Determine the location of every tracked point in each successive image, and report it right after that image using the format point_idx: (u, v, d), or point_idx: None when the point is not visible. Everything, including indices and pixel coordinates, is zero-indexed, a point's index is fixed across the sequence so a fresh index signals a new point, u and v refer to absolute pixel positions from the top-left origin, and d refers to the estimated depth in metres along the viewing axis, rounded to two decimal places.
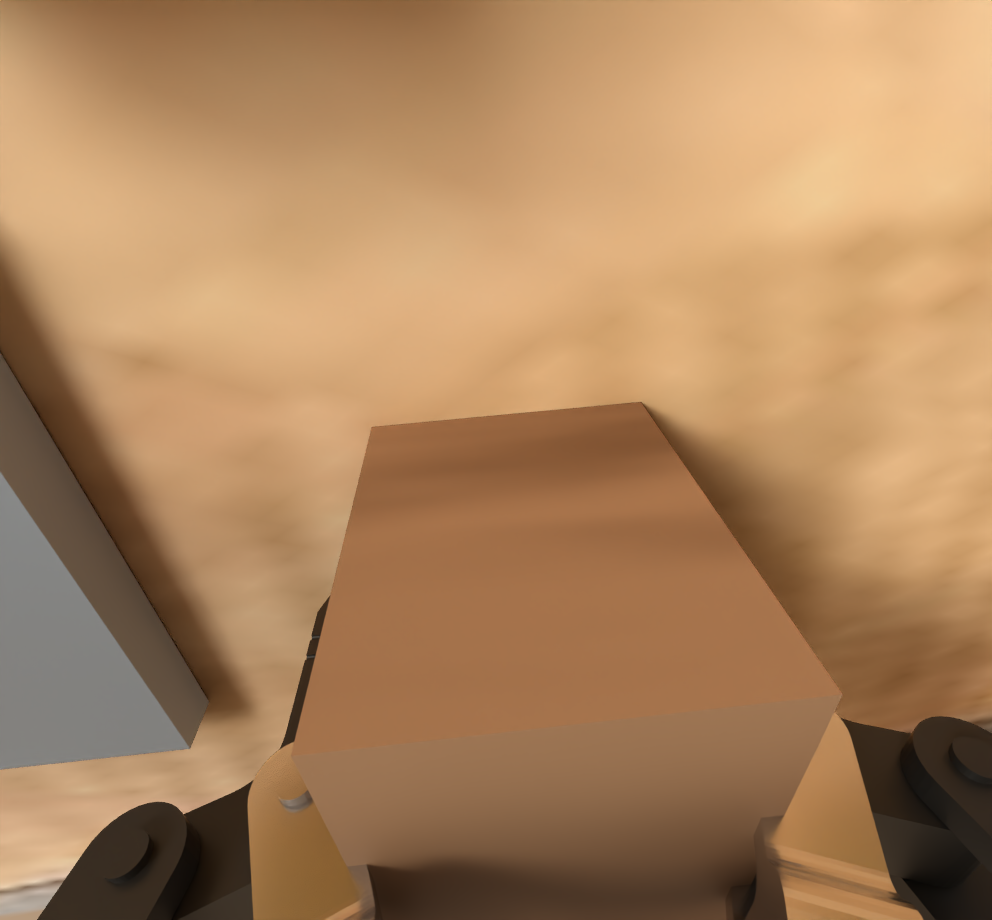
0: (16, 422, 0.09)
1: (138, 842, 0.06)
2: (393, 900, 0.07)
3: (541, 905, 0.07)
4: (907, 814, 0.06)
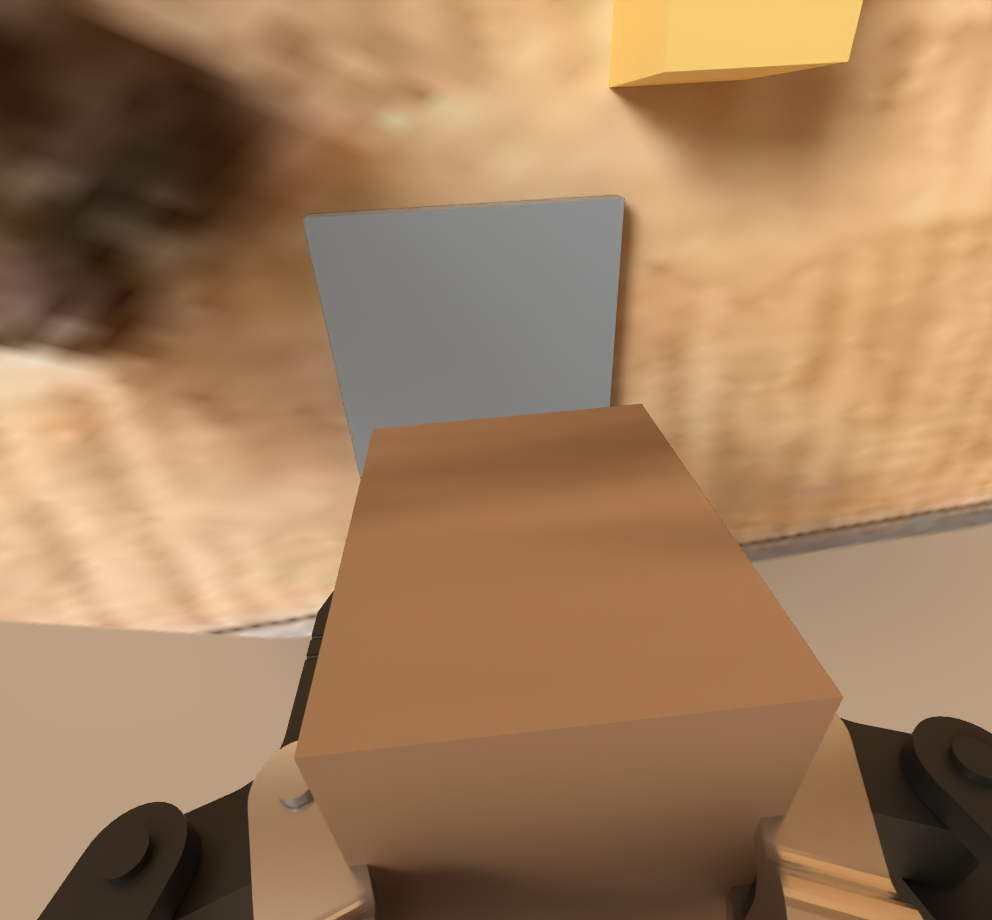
0: None
1: (138, 842, 0.06)
2: (395, 901, 0.07)
3: (543, 906, 0.07)
4: (907, 814, 0.06)
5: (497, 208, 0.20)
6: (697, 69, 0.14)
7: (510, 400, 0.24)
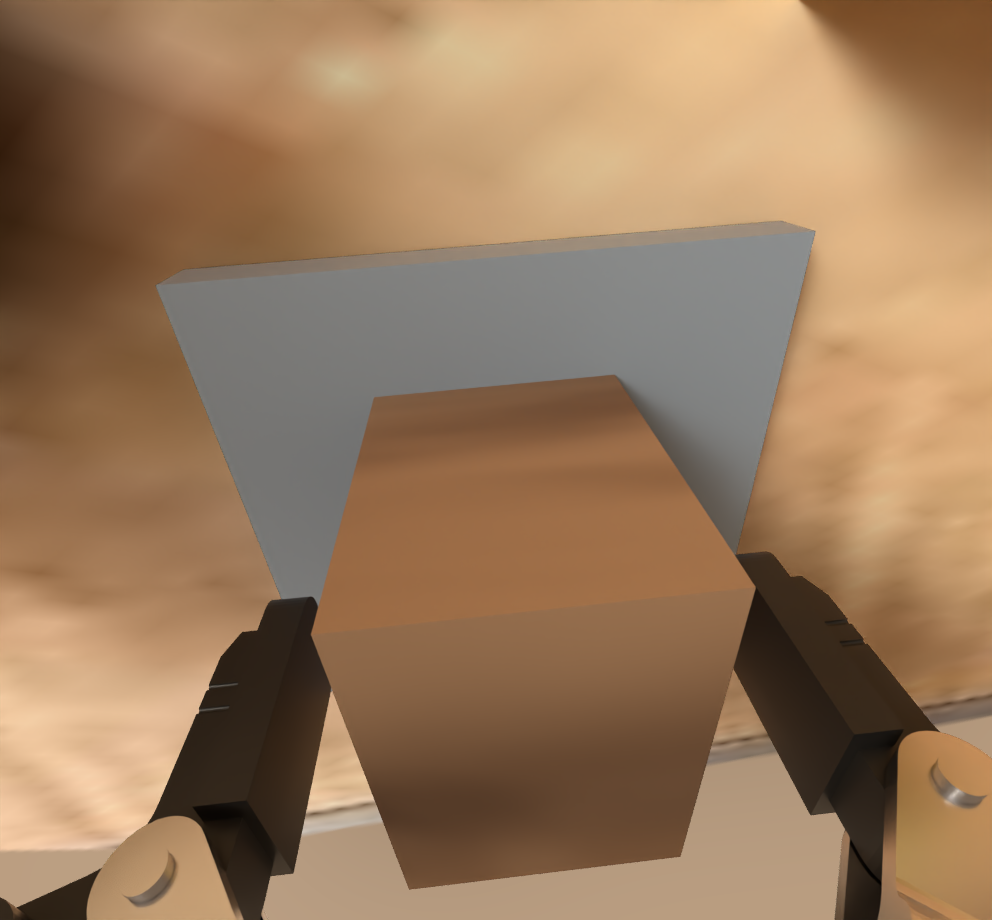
0: None
1: None
2: (393, 786, 0.08)
3: (520, 797, 0.08)
4: None
5: (558, 256, 0.10)
6: None
7: None
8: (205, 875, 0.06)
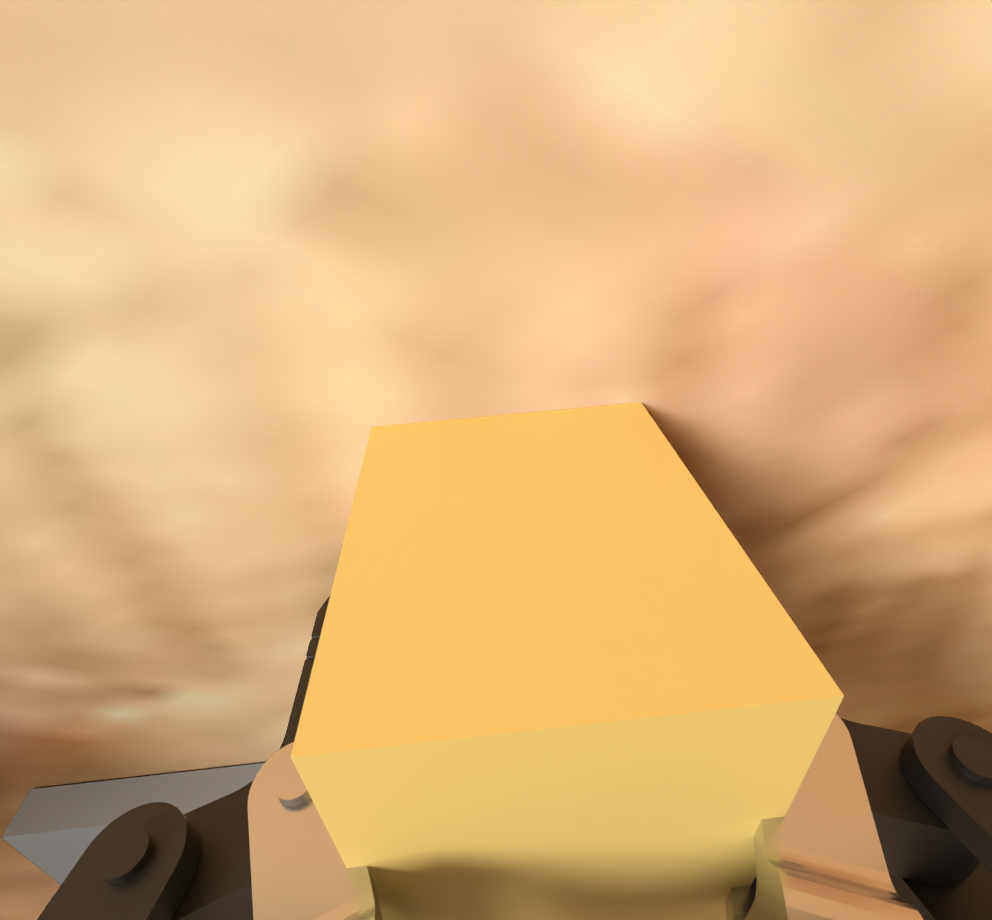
0: None
1: (138, 842, 0.06)
2: None
3: None
4: (907, 814, 0.06)
5: None
6: None
7: None
8: None
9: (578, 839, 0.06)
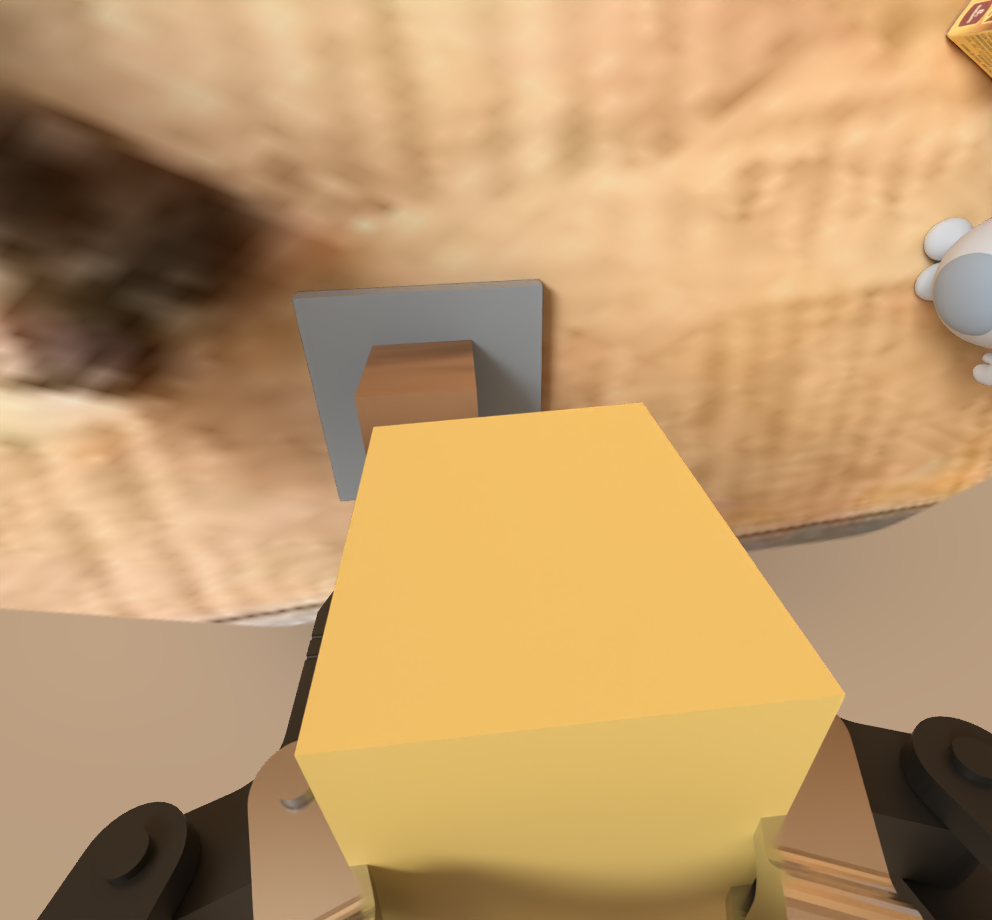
0: None
1: (138, 842, 0.06)
2: None
3: None
4: (907, 814, 0.06)
5: (444, 292, 0.26)
6: None
7: None
8: None
9: (581, 838, 0.06)
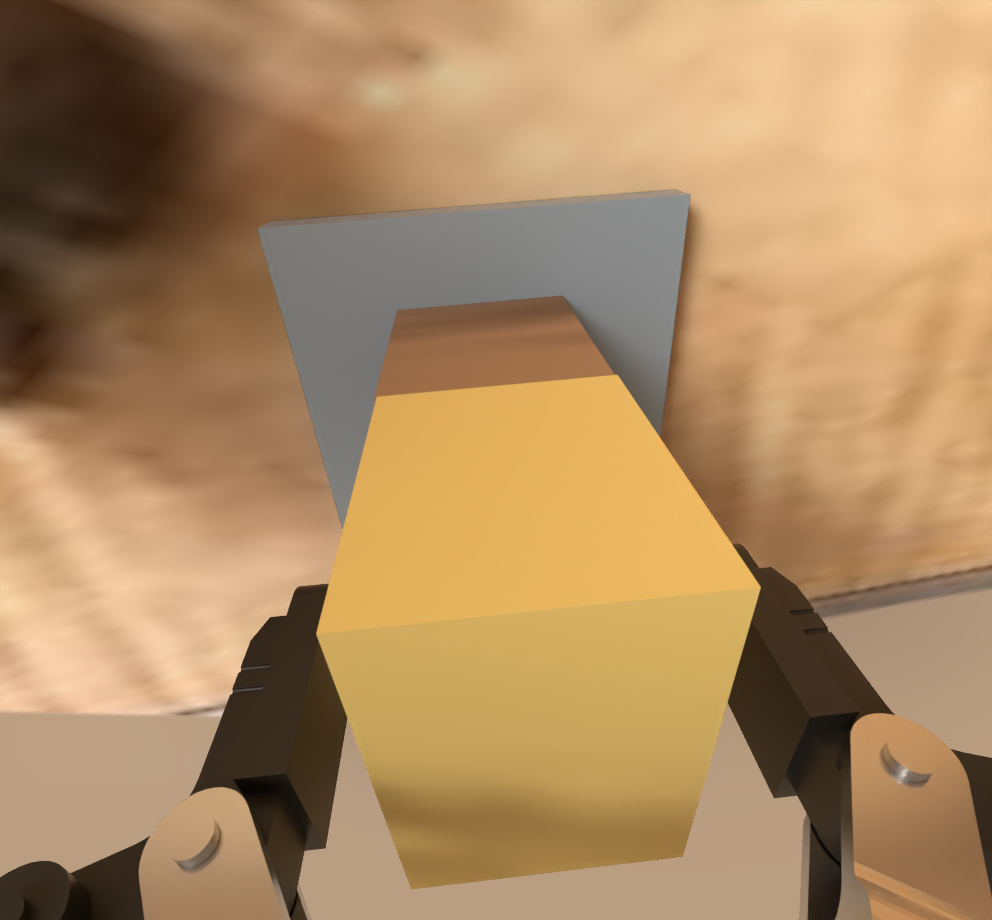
0: None
1: (14, 908, 0.06)
2: None
3: None
4: None
5: (520, 210, 0.15)
6: (462, 879, 0.10)
7: None
8: (251, 842, 0.06)
9: (553, 724, 0.07)
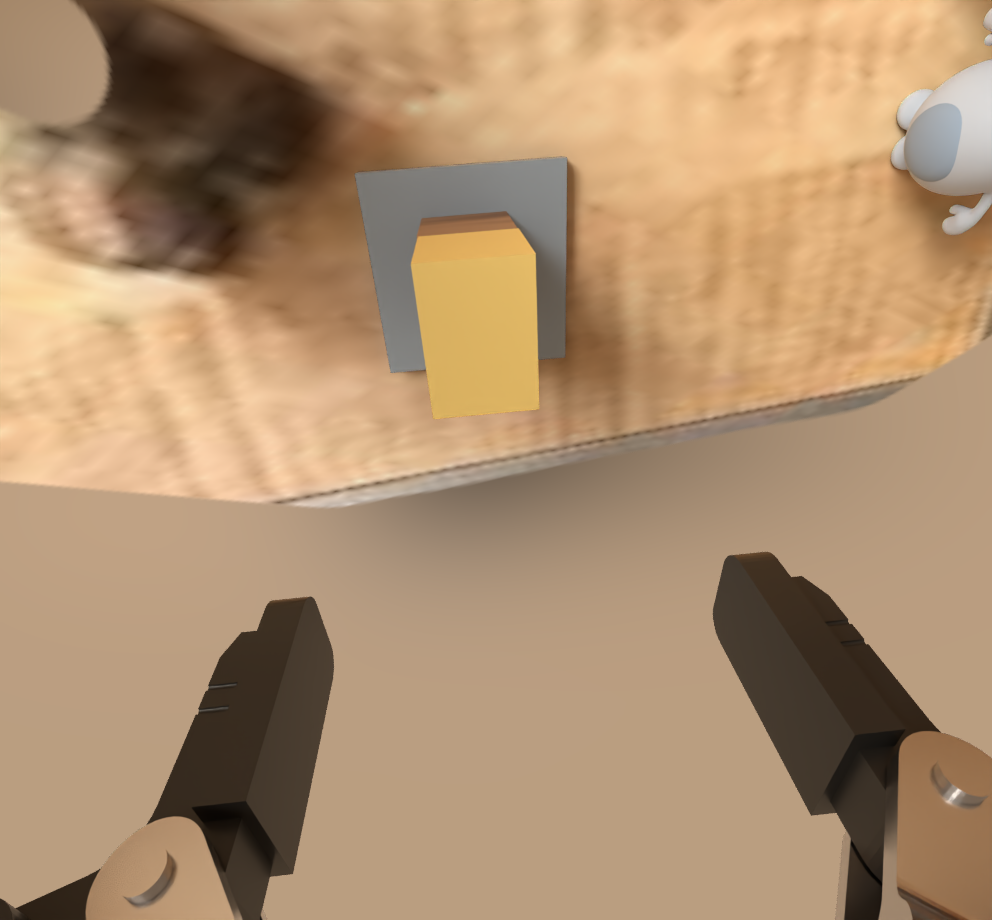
0: None
1: None
2: None
3: None
4: None
5: (483, 165, 0.30)
6: (452, 416, 0.25)
7: None
8: (204, 876, 0.06)
9: (480, 314, 0.22)
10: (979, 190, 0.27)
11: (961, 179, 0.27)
